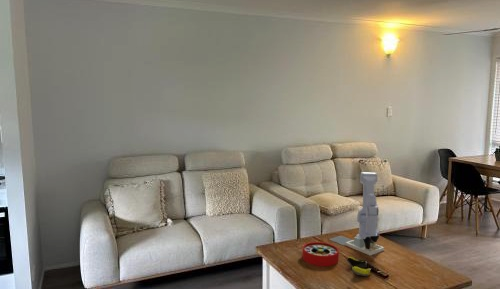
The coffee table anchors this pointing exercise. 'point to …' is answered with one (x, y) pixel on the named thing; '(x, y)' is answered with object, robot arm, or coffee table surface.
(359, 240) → the blue-grey block
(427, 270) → the coffee table surface
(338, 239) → the mat
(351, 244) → the tray
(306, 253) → the toy clock
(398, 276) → the coffee table surface
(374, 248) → the birch block
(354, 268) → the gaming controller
